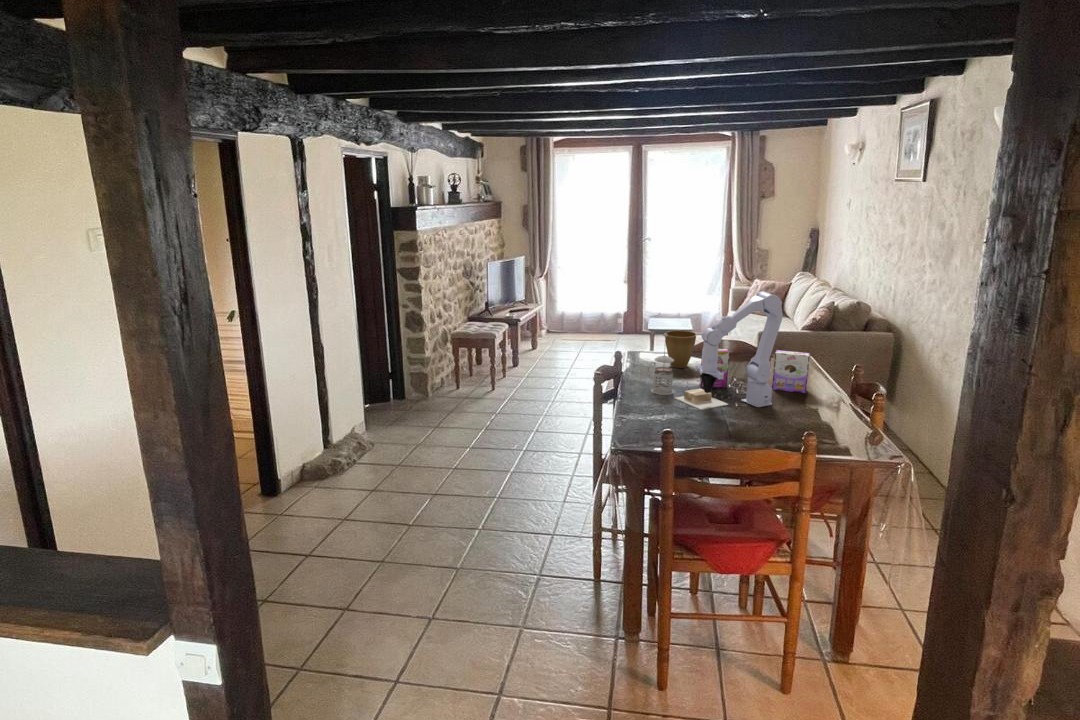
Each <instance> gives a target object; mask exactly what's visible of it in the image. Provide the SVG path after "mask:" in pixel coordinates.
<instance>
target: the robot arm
mask: <svg viewBox="0 0 1080 720" xmlns="http://www.w3.org/2000/svg"><path fill="white" fill-rule="evenodd" d="M782 304H783V301H782V300H781V299H780V297H779V296H778V295H777V294H772V293H769V292H768V291H763V290H761V291H759V292H757V293H756V295H753V296H752V297H751V298H750V300H748V301H747V302H746V303H745V304H744V305H743V306H741V307H740V308H738V309H737V311H735V312H734V313H733V314H732V315H726V316H724V315H723V316H722V317H721V319H720V320H718V322H716V323H715V324H712V325H711V326H710V327H708V328H705V329H704V330H703V333H702V334H701V340H703V359H702V366H701V364H699V365H695V366H694V367H695V368H694V369H695V370H694V371H696V372H699V373H700V372H701V373H703V374H701V375H700V374H699V379H700V378H701V380H702V382H703V386H704V387H703V390H704V391H705V393H712V390H713V388H714V387H713V385H714V383H715V381H716V380H717V378H718V379H723V377H724V374H722V373H721V372H719V371H718V370H717V361H718V349H719V345H720V343H721V342H722V340H723V338H724V337H725V336H727V335H728V334H729V333H731V332H732V331H733V330H735V329H736V328H737V325H738V324H737V323H739V322H740V321H742V320H743V319H745V318H746V317H747V316H750V314H752V313H754V312H763V314H765V316H766V321H765V324H764V326H763V327H764V328H763V330H762V334H761V337H760V341H759V342H758V346H757V349H756V353H755V355H754V356H752V357H751V358H750V361H749V362H748V364H747V365H746V367H745V374H746V375H747V382H746V394H745V398H743V399H740V402H742V403H745V402H746V403H745V404H747V405H750V406H753V407H756V408H762V407H768V406H772V405H773V403H772V398H773V397H772V395H773V390H772V386H771V385H769V384H768V380H770V377H771V367H772V365H771V363H770V359H771V354H772V351H773V349H774V346H775V342H776V339H777V337H778V333H779V330H780V328H781V323H782V321H783V318H784V315H783V314H784V313H783V307H782Z"/></svg>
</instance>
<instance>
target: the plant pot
mask: <svg viewBox="0 0 1080 720" xmlns="http://www.w3.org/2000/svg"><path fill="white" fill-rule="evenodd" d="M664 333H667V334H668V336H666V342H665V349H666V351H667V356H668V357H671V358H672V359H674V362H672V363H670V365H671V367H672V368H677V369H678V368H679V369H681V368H683V369H684V368H687V367H688V365H689V362H690V360H691V357H692V355H693V351H694V348H695V344H696V340H697V333H696V332H695V331H694V332H693V331H690V330H689V331H688V330H668V331H666V332H664Z"/></svg>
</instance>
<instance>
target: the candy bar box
mask: <svg viewBox="0 0 1080 720" xmlns="http://www.w3.org/2000/svg"><path fill="white" fill-rule="evenodd" d="M730 355H731V351H730V349H727V348H718V361H717V370H718V371H719V372H721V373H722V374H724V377H723V379H718V378H717V380H716V381H715V383H714V385H713V387H712V388H714V387H726V388H727V386H728V374H729V364H730ZM702 359H703V348H702V349H701V361H700V366H702ZM699 373H700V374H699V376H700V375H701V374H703V373H701V372H700V371H699ZM699 386H700V387H701V388H704V386H703V382H702V380H701V378H700V377H699Z"/></svg>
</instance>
